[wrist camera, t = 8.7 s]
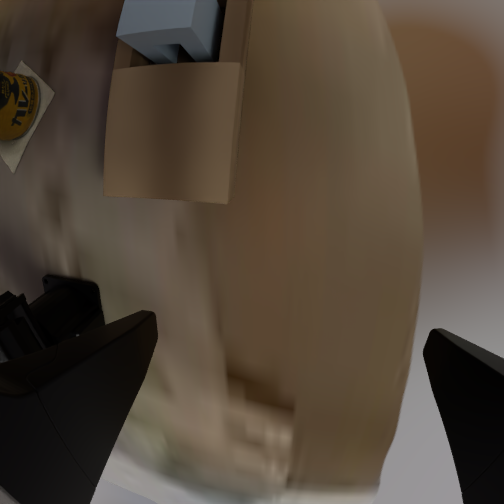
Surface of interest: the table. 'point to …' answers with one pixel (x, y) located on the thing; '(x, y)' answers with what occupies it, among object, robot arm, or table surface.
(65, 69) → the table surface
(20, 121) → the condiment
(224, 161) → the brown slotted block
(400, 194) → the table surface
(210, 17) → the clip
